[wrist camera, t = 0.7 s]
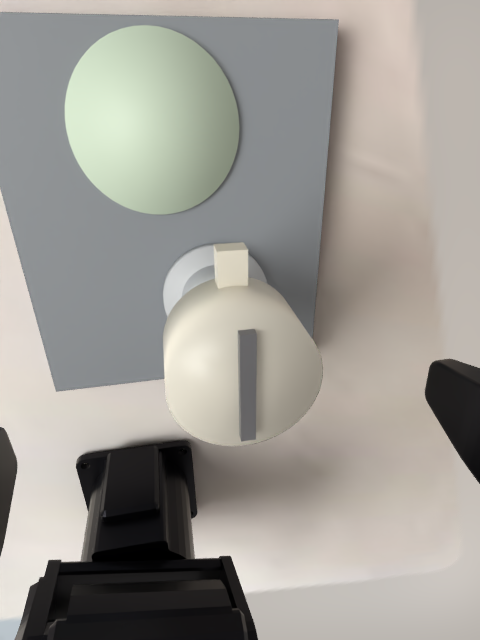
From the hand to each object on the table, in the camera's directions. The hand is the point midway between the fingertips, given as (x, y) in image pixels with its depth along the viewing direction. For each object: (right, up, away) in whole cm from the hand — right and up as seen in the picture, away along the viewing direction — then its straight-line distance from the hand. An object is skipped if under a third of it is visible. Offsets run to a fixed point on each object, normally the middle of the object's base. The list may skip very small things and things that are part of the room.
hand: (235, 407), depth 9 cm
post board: (-3, +6, +10) cm, 12 cm away
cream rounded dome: (0, +1, +7) cm, 7 cm away
